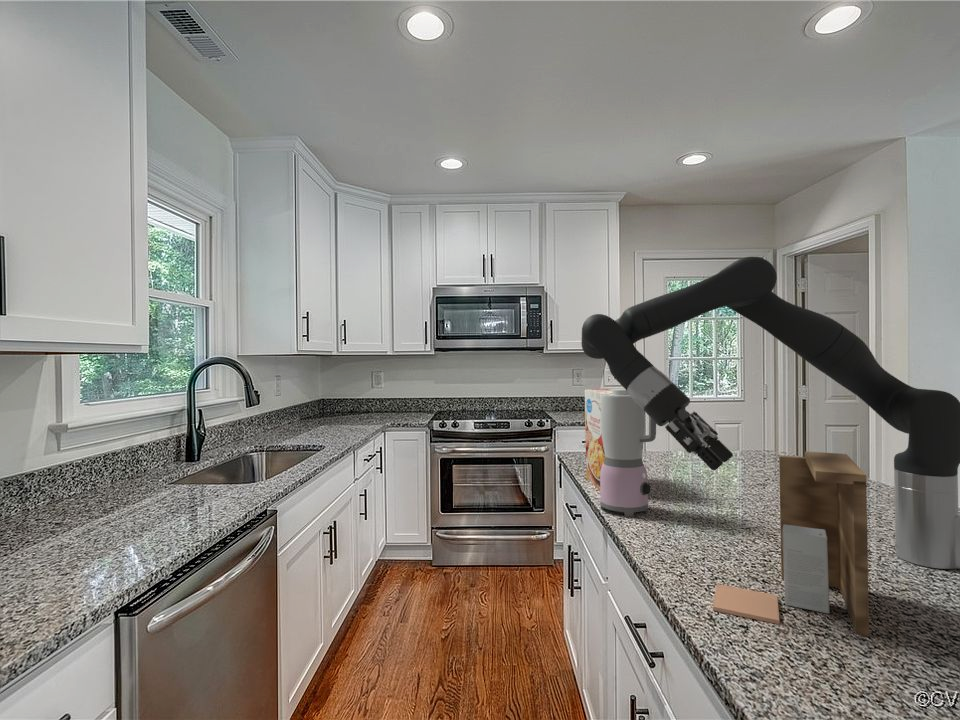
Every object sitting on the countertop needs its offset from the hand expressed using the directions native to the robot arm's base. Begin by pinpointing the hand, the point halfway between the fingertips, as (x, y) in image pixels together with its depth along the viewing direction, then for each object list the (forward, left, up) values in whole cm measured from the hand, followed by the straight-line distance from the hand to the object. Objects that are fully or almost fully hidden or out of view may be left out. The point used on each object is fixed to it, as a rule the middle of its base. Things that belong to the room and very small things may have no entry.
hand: (724, 463), depth 87 cm
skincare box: (-12, +2, -22) cm, 25 cm away
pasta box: (+36, -59, -22) cm, 73 cm away
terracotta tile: (-3, +6, -21) cm, 23 cm away
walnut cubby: (-13, +1, -21) cm, 25 cm away
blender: (+25, -36, -22) cm, 49 cm away
